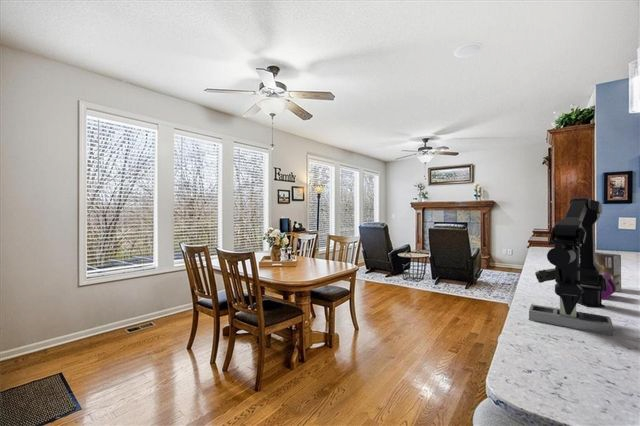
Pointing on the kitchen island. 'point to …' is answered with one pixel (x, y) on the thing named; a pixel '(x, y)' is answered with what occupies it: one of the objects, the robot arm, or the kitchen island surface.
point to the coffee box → (610, 266)
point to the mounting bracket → (608, 286)
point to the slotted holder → (572, 319)
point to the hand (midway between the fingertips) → (568, 310)
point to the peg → (562, 310)
